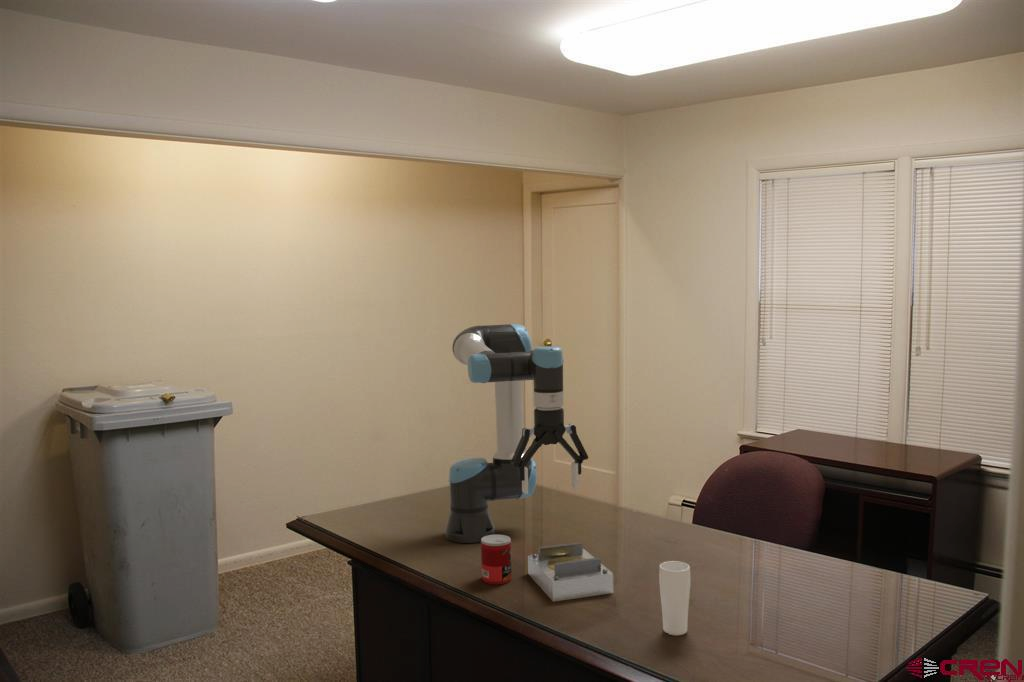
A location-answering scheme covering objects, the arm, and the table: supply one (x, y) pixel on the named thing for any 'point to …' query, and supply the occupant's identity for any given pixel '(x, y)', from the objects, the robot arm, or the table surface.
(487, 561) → the canned food
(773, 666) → the table surface
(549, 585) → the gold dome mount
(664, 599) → the drinking glass
